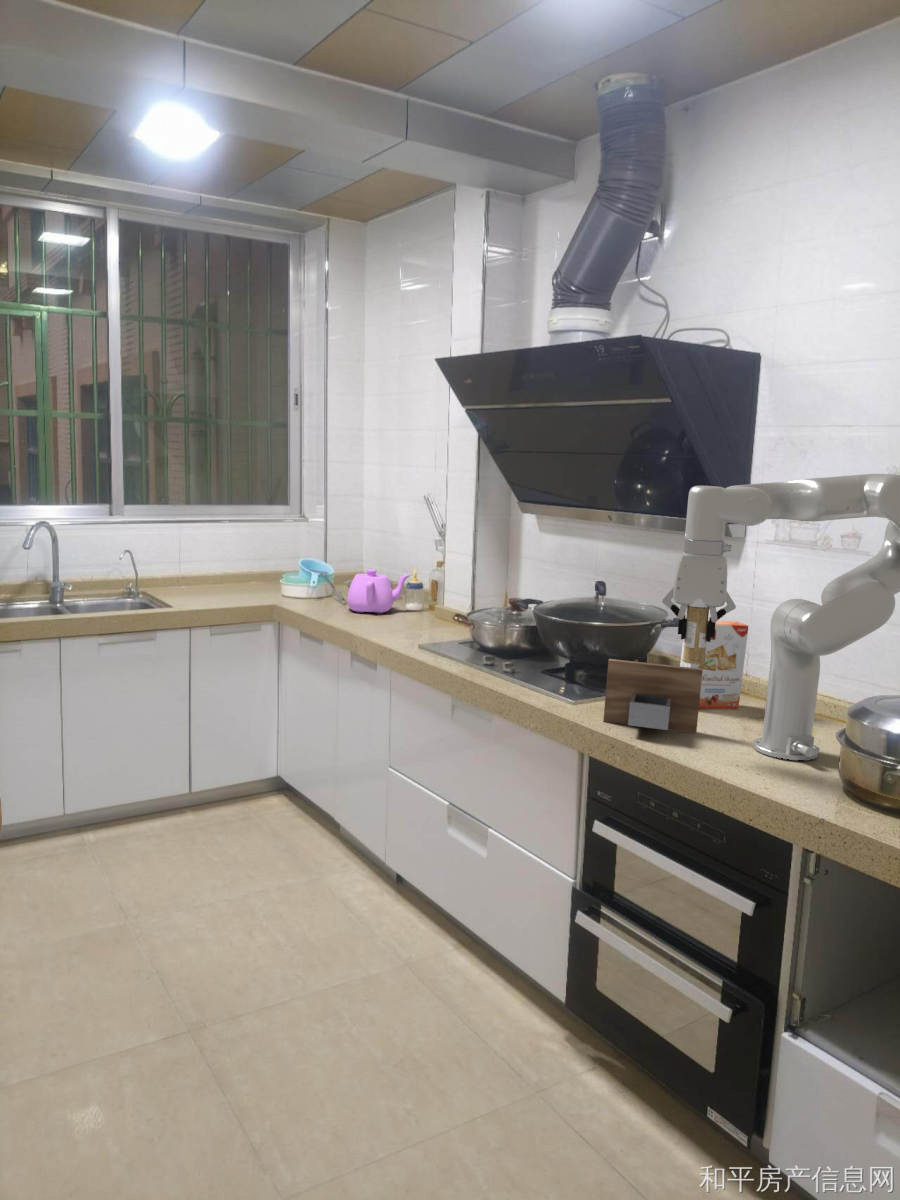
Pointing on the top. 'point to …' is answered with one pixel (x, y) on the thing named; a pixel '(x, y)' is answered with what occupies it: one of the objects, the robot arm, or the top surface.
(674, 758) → the top surface
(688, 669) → the wall holder
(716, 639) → the cracker box
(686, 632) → the sprinkles bottle
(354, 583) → the teapot
